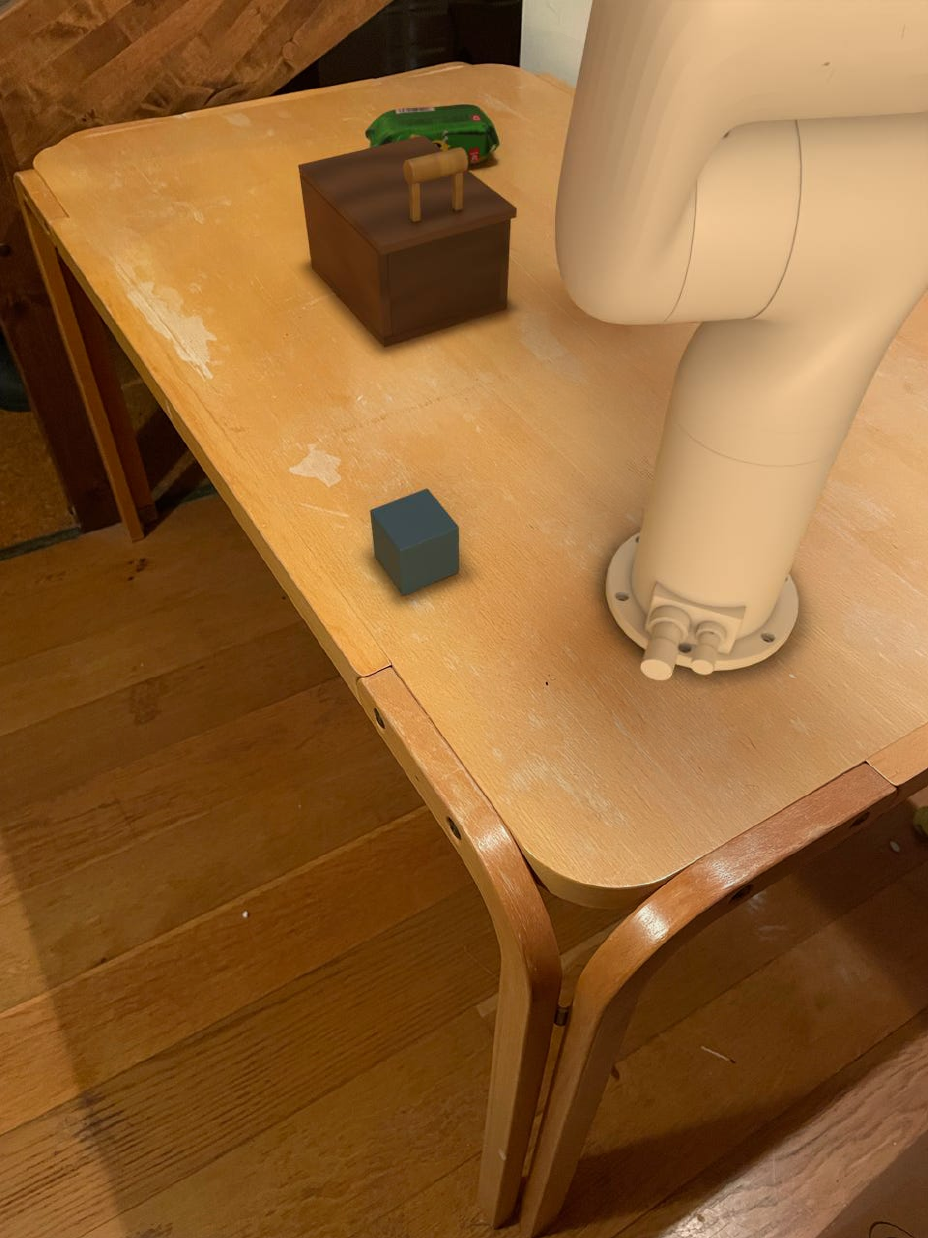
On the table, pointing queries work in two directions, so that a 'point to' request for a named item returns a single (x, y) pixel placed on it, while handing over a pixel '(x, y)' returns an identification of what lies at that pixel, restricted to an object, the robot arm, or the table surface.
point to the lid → (406, 193)
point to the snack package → (439, 129)
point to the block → (415, 541)
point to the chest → (408, 274)
